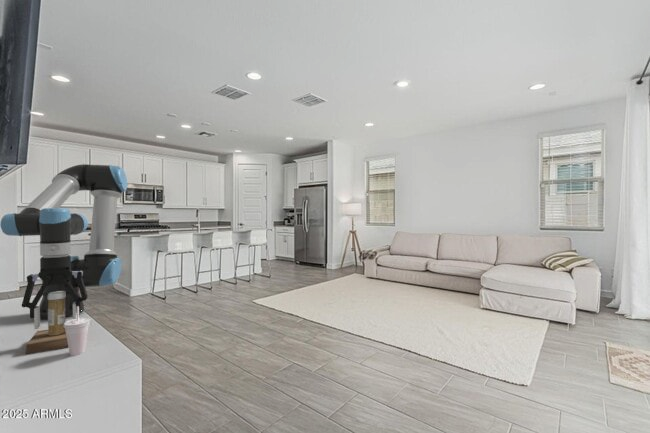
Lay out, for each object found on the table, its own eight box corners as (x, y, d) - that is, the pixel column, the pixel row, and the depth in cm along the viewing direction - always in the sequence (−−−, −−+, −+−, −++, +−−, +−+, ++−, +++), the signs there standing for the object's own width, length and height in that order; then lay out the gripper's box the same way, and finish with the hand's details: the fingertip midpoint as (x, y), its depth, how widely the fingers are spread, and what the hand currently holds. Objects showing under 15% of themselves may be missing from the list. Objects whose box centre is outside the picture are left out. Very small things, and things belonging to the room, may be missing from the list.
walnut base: (37, 339, 104) (37, 331, 104) (82, 332, 110) (82, 324, 110) (26, 354, 94) (26, 344, 94) (76, 345, 100) (76, 336, 100)
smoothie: (93, 346, 99) (93, 303, 99) (86, 355, 93) (85, 309, 93) (69, 350, 97) (68, 305, 97) (59, 359, 91) (59, 311, 91)
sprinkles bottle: (66, 333, 102) (66, 292, 102) (48, 337, 99) (48, 294, 99) (64, 329, 105) (65, 289, 105) (46, 333, 102) (46, 292, 102)
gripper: (5, 259, 93) (6, 335, 93) (95, 255, 103) (96, 322, 104) (14, 256, 99) (15, 327, 100) (98, 252, 110) (98, 315, 110)
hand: (56, 324), depth 102 cm, fingers open, 9 cm apart
